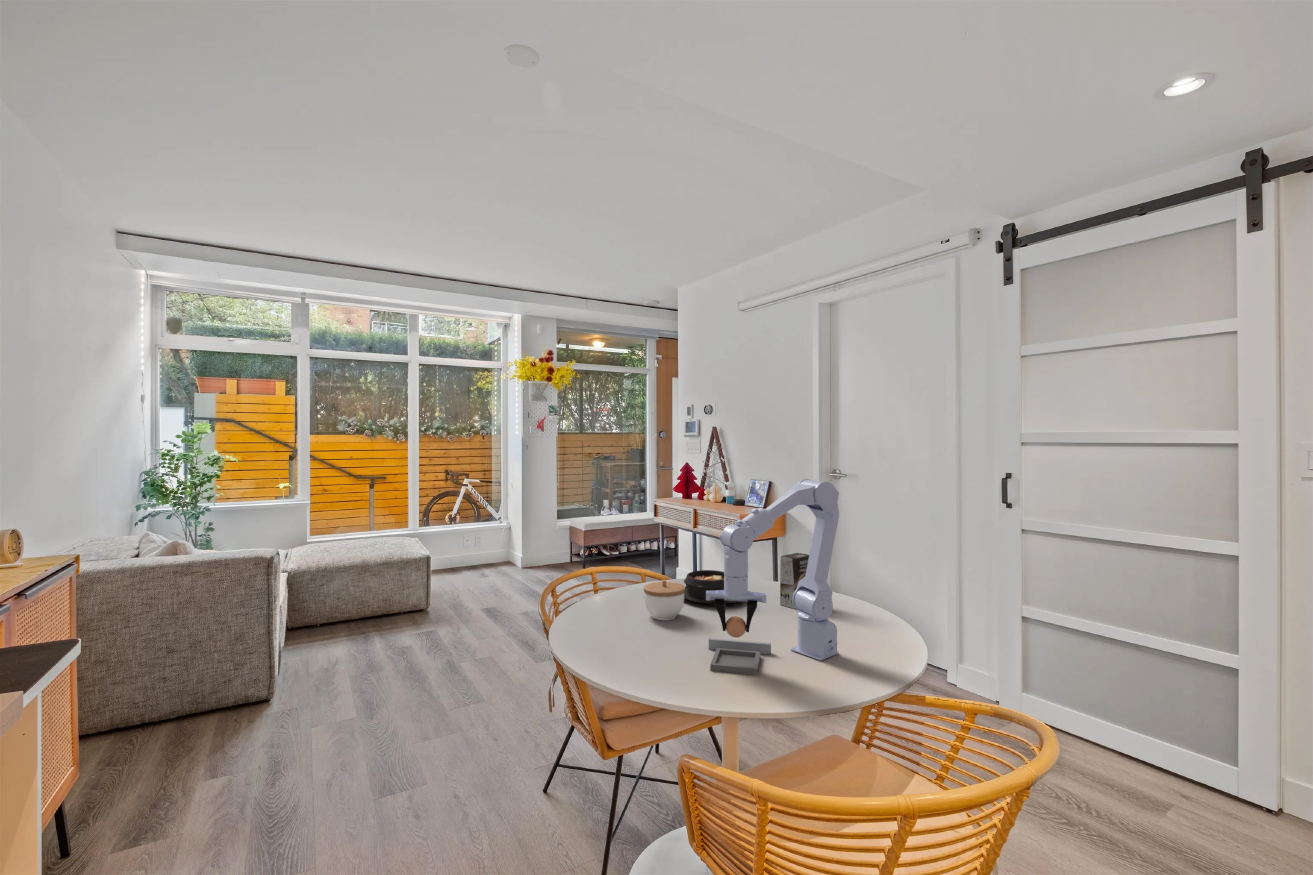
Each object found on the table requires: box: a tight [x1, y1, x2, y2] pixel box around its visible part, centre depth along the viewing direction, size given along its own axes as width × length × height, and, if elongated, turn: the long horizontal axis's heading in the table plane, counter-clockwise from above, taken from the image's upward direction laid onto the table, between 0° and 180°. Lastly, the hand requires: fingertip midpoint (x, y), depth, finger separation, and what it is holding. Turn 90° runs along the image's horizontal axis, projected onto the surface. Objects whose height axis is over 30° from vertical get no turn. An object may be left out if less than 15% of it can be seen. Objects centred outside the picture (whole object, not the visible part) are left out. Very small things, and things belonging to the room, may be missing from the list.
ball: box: [725, 615, 746, 638], centre depth 146 cm, size 5×5×5 cm
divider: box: [708, 637, 772, 655], centre depth 155 cm, size 16×1×2 cm, turn 76°
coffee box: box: [779, 552, 809, 610], centre depth 195 cm, size 9×6×16 cm
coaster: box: [709, 648, 761, 676], centre depth 146 cm, size 11×11×1 cm
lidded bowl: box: [643, 579, 685, 621], centre depth 183 cm, size 13×13×11 cm
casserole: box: [683, 569, 741, 605], centre depth 200 cm, size 25×19×8 cm
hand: (735, 630), depth 146 cm, fingers closed on ball, 5 cm apart
